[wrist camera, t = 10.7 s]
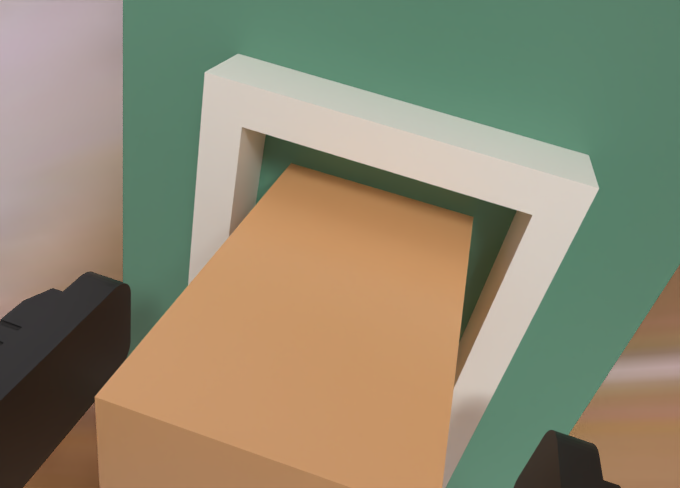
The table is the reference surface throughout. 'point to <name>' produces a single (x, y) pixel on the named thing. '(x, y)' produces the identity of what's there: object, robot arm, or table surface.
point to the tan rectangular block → (300, 351)
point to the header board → (428, 169)
